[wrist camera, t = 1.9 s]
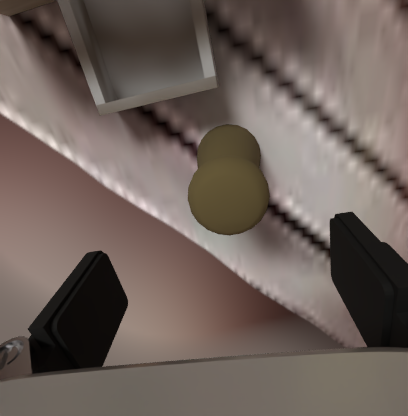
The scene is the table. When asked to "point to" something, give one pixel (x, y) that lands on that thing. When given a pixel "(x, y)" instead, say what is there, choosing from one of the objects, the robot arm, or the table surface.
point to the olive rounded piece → (228, 182)
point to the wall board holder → (136, 48)
